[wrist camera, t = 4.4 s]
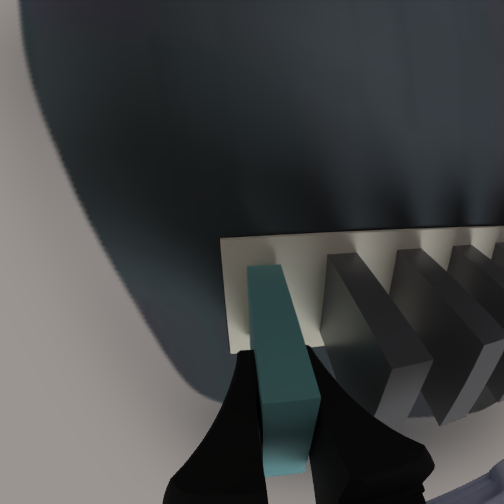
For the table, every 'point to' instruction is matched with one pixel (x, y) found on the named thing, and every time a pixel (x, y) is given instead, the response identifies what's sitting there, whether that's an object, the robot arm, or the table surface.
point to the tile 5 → (498, 254)
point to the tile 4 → (482, 295)
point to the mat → (314, 266)
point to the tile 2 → (371, 342)
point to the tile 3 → (446, 333)
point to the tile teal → (280, 373)
